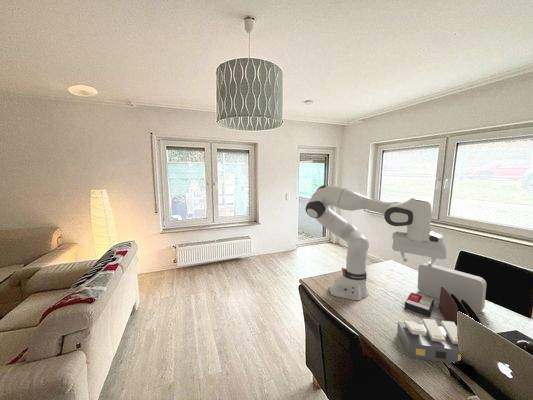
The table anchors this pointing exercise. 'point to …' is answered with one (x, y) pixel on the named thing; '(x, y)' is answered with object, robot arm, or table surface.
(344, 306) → the table surface
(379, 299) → the table surface
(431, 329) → the rocker
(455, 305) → the letter holder
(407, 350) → the switch console
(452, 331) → the rocker
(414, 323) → the rocker
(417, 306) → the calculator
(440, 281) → the rounded white slab
